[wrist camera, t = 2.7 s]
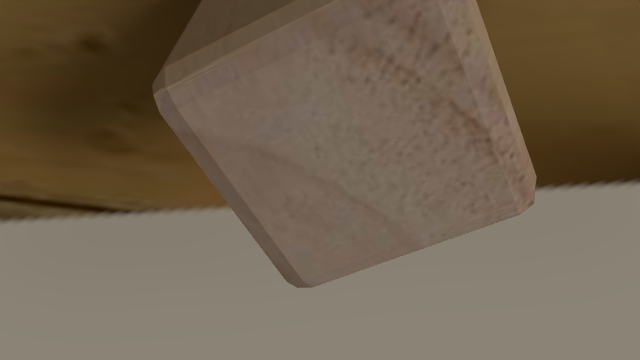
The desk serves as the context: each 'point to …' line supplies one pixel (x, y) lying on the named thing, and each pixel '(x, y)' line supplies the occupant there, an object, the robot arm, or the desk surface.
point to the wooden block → (347, 126)
